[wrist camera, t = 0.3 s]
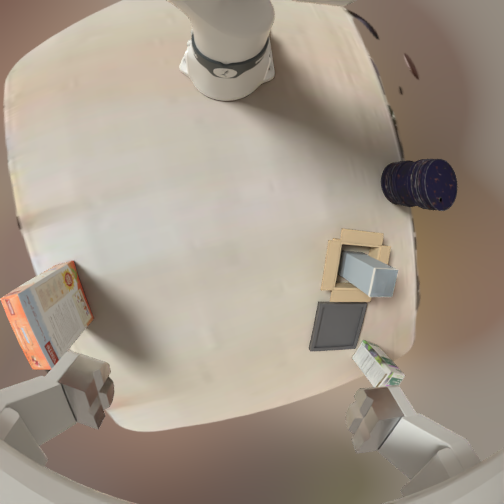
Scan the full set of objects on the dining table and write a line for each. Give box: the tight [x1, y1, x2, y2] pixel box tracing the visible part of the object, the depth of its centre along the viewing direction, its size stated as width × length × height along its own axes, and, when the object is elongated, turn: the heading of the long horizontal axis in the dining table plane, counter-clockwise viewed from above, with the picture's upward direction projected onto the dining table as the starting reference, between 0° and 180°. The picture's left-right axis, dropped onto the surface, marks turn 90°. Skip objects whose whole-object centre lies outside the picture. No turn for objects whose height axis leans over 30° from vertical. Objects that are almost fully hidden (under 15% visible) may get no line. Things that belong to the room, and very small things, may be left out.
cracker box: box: [1, 261, 94, 370], centre depth 41 cm, size 14×6×21 cm, turn 11°
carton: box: [321, 229, 391, 302], centre depth 55 cm, size 15×15×4 cm
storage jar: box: [381, 159, 457, 211], centre depth 48 cm, size 10×10×15 cm
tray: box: [309, 302, 367, 351], centre depth 60 cm, size 12×12×1 cm
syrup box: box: [352, 340, 405, 387], centre depth 56 cm, size 6×6×14 cm
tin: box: [338, 251, 398, 297], centre depth 50 cm, size 5×5×14 cm
